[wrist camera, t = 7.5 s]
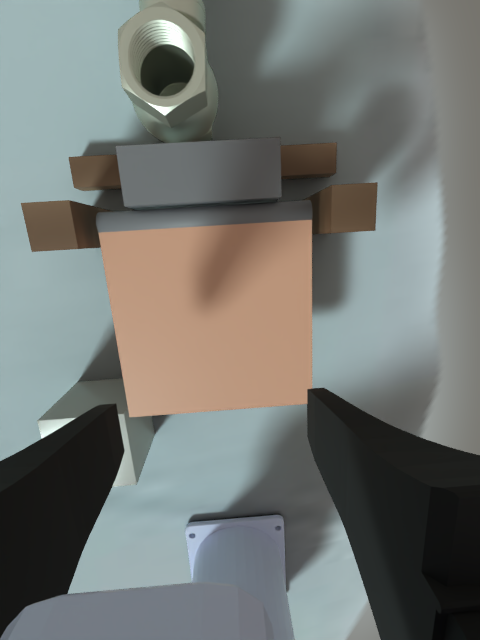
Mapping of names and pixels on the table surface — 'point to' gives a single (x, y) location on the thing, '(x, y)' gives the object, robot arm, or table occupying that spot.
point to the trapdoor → (209, 278)
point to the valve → (169, 70)
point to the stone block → (132, 428)
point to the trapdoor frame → (103, 173)
